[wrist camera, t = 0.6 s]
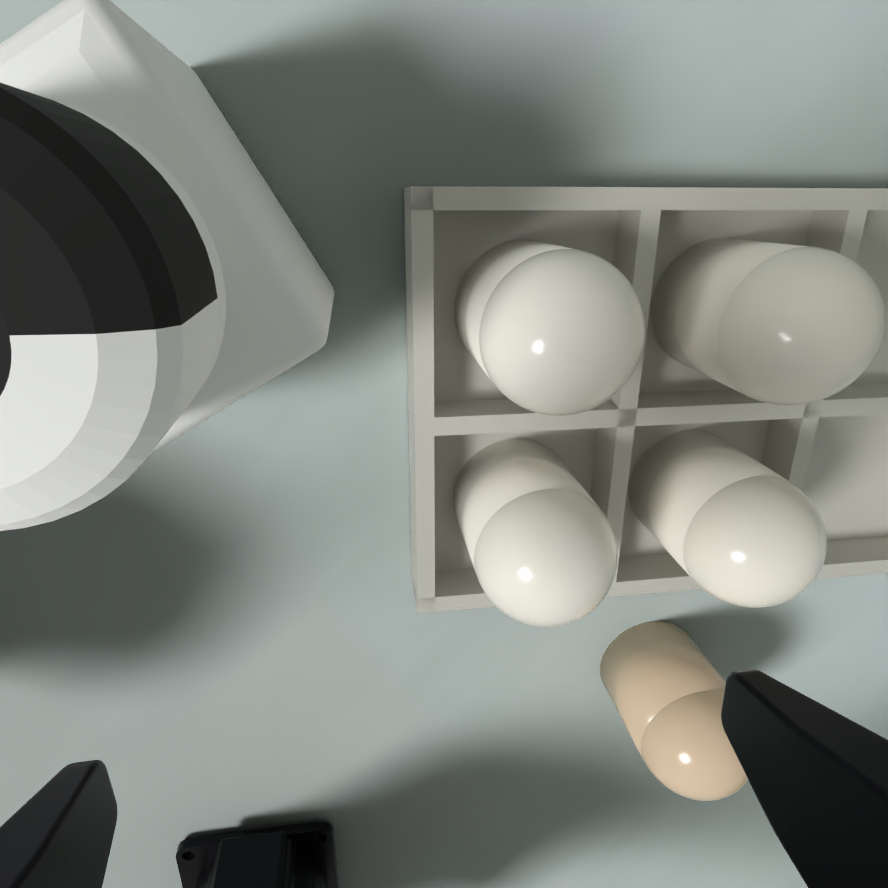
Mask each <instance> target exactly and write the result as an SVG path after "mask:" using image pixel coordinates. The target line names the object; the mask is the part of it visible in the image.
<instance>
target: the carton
mask: <svg viewBox="0 0 888 888" xmlns="http://www.w3.org/2000/svg"><path fill="white" fill-rule="evenodd" d="M404 215H405V265H406V314H407V364H408V413H409V463H410V512H411V562H412V582H413V588H414V594H415V600H416V606H417V612H418V613H429V612H440V611H452V610H463V609H475V608H487V607H496V606H495V605H494V604H493V603H492V601H491V600H490V599H489V598H488V596H487V595H486V594H485V592H484V590H483V589H482V587H481V585H480V583H479V580H478V578H477V575H476V572H475V569H474V566H473V563H472V560H471V558H470V555H469V552H468V549H467V546H466V543H465V540H464V537H463V534H462V531H461V528H460V525H459V522H458V519H457V516H456V513H455V510H454V505H453V491H454V486H455V482H456V480H457V477H458V475H459V473H460V471H461V469H462V468H463V467H464V465H465V464H466V463H467V461H468V460H469V459H470V458H471V457H472V456H473V455H475V454H476V453H477V452H478V451H480V450H481V449H483V448H485V447H486V446H488V445H490V444H493V443H496V442H498V441H503V440H507V439H526V440H531V441H535V442H538V443H540V444H542V445H544V446H546V447H547V448H549V449H550V450H552V451H553V452H554V453H555V454H556V455H557V456H558V457H559V459H560V460H561V461H562V462H563V464H564V465H565V466H566V467H567V468H568V470H569V471H570V472H571V473H572V475H573V476H574V477H575V478H576V480H577V481H578V482H579V483H580V484H581V486H582V487H583V488H584V489H585V491H586V492H587V493H588V494H589V496H590V497H591V498H592V499H593V500H594V502H595V503H596V504H597V505H598V507H599V508H600V509H601V510H602V512H603V513H604V515H605V516H606V518H607V520H608V521H609V523H610V525H611V527H612V530H613V532H614V535H615V539H616V544H617V553H618V559H617V569H616V574H615V577H614V580H613V583H612V585H611V587H610V589H609V592H608V593H607V595H606V596H605V597H614V596H625V595H637V594H648V593H660V592H672V591H683V590H695V589H702V588H701V587H700V586H699V585H698V584H697V583H696V582H695V581H694V580H693V579H692V578H691V577H690V576H689V575H688V574H687V572H686V571H685V570H684V569H683V568H682V567H681V566H680V565H679V564H678V563H677V561H676V560H675V559H674V558H673V557H672V556H671V555H670V554H669V553H668V551H667V550H666V549H665V548H664V547H663V546H662V545H661V544H660V543H659V542H658V540H657V539H656V538H655V537H654V536H653V535H652V534H651V533H650V532H649V530H648V529H647V528H646V527H645V526H644V525H643V524H642V523H641V522H640V520H639V519H638V518H637V517H636V515H635V514H634V512H633V510H632V507H631V504H630V500H629V486H630V480H631V477H632V474H633V472H634V469H635V467H636V465H637V464H638V462H639V460H640V459H641V458H642V457H643V455H644V454H645V453H646V452H647V451H648V450H649V449H650V448H651V447H652V446H653V445H655V444H656V443H657V442H659V441H660V440H662V439H663V438H665V437H667V436H669V435H672V434H674V433H677V432H681V431H686V430H703V431H707V432H711V433H713V434H715V435H717V436H719V437H721V438H722V439H724V440H725V441H727V442H728V443H730V444H732V445H733V446H735V447H736V448H738V449H739V450H741V451H743V452H744V453H746V454H747V455H749V456H750V457H752V458H753V459H755V460H757V461H758V462H760V463H761V464H763V465H764V466H766V467H768V468H769V469H771V470H772V471H774V472H775V473H777V474H778V475H780V476H782V477H783V478H785V479H786V480H788V481H789V482H791V483H792V484H794V485H795V486H797V487H798V488H799V489H800V490H802V491H803V492H804V493H805V494H806V495H807V496H808V497H809V498H810V500H811V501H812V502H813V503H814V505H815V506H816V508H817V510H818V511H819V513H820V515H821V517H822V520H823V523H824V526H825V529H826V536H827V551H826V557H825V561H824V564H823V567H822V569H821V571H820V573H819V574H818V576H817V578H816V579H822V578H834V577H845V576H857V575H868V574H880V573H888V188H704V187H493V186H409V187H404ZM715 238H730V239H740V240H750V241H760V242H770V243H779V244H789V245H799V246H809V247H818V248H823V249H827V250H831V251H835V252H837V253H839V254H842V255H844V256H846V257H848V258H850V259H851V260H853V261H855V262H856V263H857V264H859V265H860V266H861V267H862V268H863V269H864V270H865V271H867V273H868V274H869V275H870V276H871V278H872V279H873V280H874V282H875V283H876V285H877V287H878V289H879V291H880V293H881V296H882V299H883V302H884V307H885V331H884V335H883V339H882V342H881V345H880V348H879V350H878V352H877V354H876V356H875V358H874V359H873V361H872V362H871V364H870V365H869V367H868V368H867V369H866V370H865V371H864V372H863V373H862V374H861V375H860V376H859V377H858V378H857V379H856V380H855V381H854V382H853V383H851V384H850V385H849V386H847V387H846V388H844V389H843V390H841V391H839V392H837V393H835V394H833V395H831V396H829V397H827V398H824V399H822V400H819V401H815V402H811V403H806V404H799V405H777V404H771V403H765V402H762V401H759V400H756V399H753V398H750V397H748V396H746V395H744V394H742V393H740V392H738V391H736V390H734V389H732V388H730V387H728V386H726V385H724V384H722V383H720V382H718V381H716V380H714V379H712V378H710V377H708V376H706V375H704V374H702V373H700V372H698V371H696V370H693V369H691V368H689V367H687V366H685V365H683V364H681V363H679V362H677V361H675V360H674V359H672V358H671V357H670V356H668V355H667V354H666V353H665V352H664V351H663V349H662V348H661V347H660V345H659V344H658V342H657V340H656V338H655V335H654V332H653V328H652V323H651V305H652V300H653V296H654V292H655V289H656V287H657V285H658V282H659V280H660V278H661V277H662V275H663V273H664V272H665V270H666V269H667V268H668V266H669V265H670V264H671V263H672V262H673V261H674V260H675V258H677V257H678V256H679V255H680V254H681V253H682V252H684V251H685V250H687V249H688V248H690V247H692V246H693V245H695V244H697V243H700V242H703V241H705V240H710V239H715ZM520 239H527V240H535V241H540V242H544V243H549V244H553V245H558V246H562V247H567V248H572V249H576V250H581V251H585V252H588V253H591V254H594V255H596V256H599V257H601V258H603V259H604V260H606V261H608V262H610V263H611V264H612V265H613V266H615V267H616V268H617V269H618V270H619V271H620V272H621V273H622V274H623V275H624V276H625V277H626V278H627V279H628V280H629V282H630V283H631V285H632V286H633V288H634V290H635V292H636V294H637V296H638V298H639V301H640V303H641V306H642V310H643V314H644V321H645V337H644V344H643V350H642V353H641V356H640V360H639V362H638V364H637V366H636V369H635V370H634V372H633V374H632V375H631V377H630V378H629V380H628V381H627V382H626V384H625V385H624V386H623V387H622V388H621V389H620V390H619V391H618V392H617V393H616V394H615V395H614V396H613V397H611V398H610V399H609V400H607V401H606V402H604V403H603V404H601V405H599V406H597V407H595V408H593V409H590V410H588V411H585V412H582V413H578V414H574V415H565V416H555V415H545V414H540V413H536V412H533V411H530V410H527V409H525V408H523V407H521V406H519V405H517V404H516V403H514V402H512V401H511V400H510V399H509V398H507V397H506V396H505V395H504V394H503V393H502V392H501V391H500V390H499V389H498V388H497V387H496V386H495V385H494V383H493V382H492V381H491V380H490V378H489V377H488V376H487V375H486V373H485V372H484V371H483V369H482V368H481V367H480V366H479V364H478V363H477V362H476V361H475V359H474V358H473V357H472V356H471V354H470V353H469V352H468V350H467V349H466V347H465V346H464V344H463V343H462V341H461V339H460V337H459V334H458V331H457V328H456V323H455V312H454V309H455V299H456V294H457V291H458V288H459V285H460V282H461V280H462V278H463V276H464V274H465V273H466V271H467V270H468V268H469V267H470V266H471V265H472V263H473V262H474V261H475V260H476V259H477V258H478V257H479V256H480V255H482V254H483V253H484V252H486V251H487V250H489V249H490V248H492V247H494V246H496V245H498V244H501V243H504V242H507V241H512V240H520Z"/></svg>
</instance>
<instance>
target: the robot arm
mask: <svg viewBox="0 0 888 888" xmlns="http://www.w3.org/2000/svg"><path fill="white" fill-rule="evenodd" d="M721 721H722V725H723V728H724V731H725V733H726V735H727V737H728V739H729V741H730V744H731V746H732V748H733V750H734V752H735V754H736V756H737V758H738V760H739V762H740V764H741V766H742V768H743V770H744V772H745V774H746V776H747V778H748V780H749V782H750V784H751V786H752V788H753V790H754V792H755V794H756V796H757V798H758V800H759V802H760V804H761V806H762V808H763V810H764V812H765V814H766V816H767V818H768V820H769V822H770V824H771V826H772V828H773V830H774V832H775V833H776V835H777V837H778V838H779V840H780V842H781V844H782V845H783V847H784V849H785V850H786V852H787V854H788V855H789V857H790V858H791V860H792V862H793V863H794V865H795V867H796V868H797V870H798V872H799V873H800V875H801V876H802V878H803V880H804V881H805V883H806V885H807V886H808V888H888V740H887V739H885V738H883V737H881V736H879V735H877V734H876V733H874V732H872V731H870V730H868V729H866V728H864V727H863V726H861V725H859V724H857V723H855V722H853V721H851V720H850V719H848V718H846V717H844V716H842V715H840V714H838V713H837V712H835V711H833V710H831V709H829V708H827V707H825V706H824V705H822V704H820V703H818V702H816V701H814V700H812V699H811V698H809V697H807V696H805V695H803V694H801V693H799V692H798V691H796V690H794V689H792V688H790V687H788V686H786V685H785V684H783V683H781V682H779V681H777V680H775V679H773V678H772V677H770V676H768V675H766V674H764V673H762V672H760V671H758V670H745V671H737V672H732V673H730V674H729V676H728V677H727V680H726V685H725V691H724V698H723V704H722V710H721ZM116 821H117V803H116V799H115V796H114V792H113V789H112V786H111V782H110V779H109V775H108V772H107V769H106V766H105V764H104V763H103V762H102V761H100V760H92V761H85V762H77V763H72V764H69V765H67V766H66V767H64V768H63V769H62V770H61V771H60V772H59V773H58V774H57V775H56V776H54V777H53V778H52V779H51V780H50V781H49V782H48V783H47V784H46V785H45V786H44V787H43V788H42V789H41V790H40V791H38V792H37V793H36V794H35V795H34V796H33V797H32V798H31V799H30V800H29V801H28V802H27V803H26V804H25V805H23V806H22V807H21V808H20V809H19V810H18V811H17V812H16V813H15V814H14V815H13V816H12V817H11V818H10V819H9V820H7V821H6V822H5V823H4V824H3V825H2V826H1V827H0V888H102V884H103V880H104V875H105V871H106V866H107V862H108V857H109V853H110V849H111V844H112V840H113V835H114V831H115V826H116ZM176 860H177V864H178V869H179V873H180V877H181V882H182V886H183V888H339V887H338V876H337V865H336V854H335V843H334V832H333V826H332V825H331V824H330V823H328V822H314V823H306V824H299V825H291V826H283V827H275V828H267V829H260V830H252V831H244V832H236V833H228V834H221V835H213V836H205V837H197V838H189V839H185V840H183V841H182V842H180V844H179V846H178V849H177V853H176Z"/></svg>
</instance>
